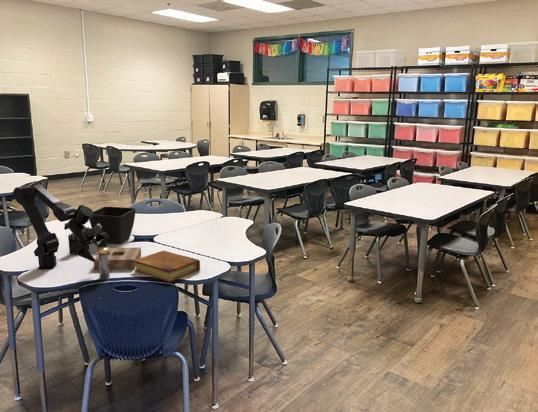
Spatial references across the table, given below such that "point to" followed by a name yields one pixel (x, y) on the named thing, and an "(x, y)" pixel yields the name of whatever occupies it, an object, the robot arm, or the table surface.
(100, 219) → the flower pot
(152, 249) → the table surface
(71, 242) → the electronic device
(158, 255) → the diary
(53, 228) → the table surface
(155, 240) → the table surface
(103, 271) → the pin
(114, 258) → the socket block
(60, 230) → the table surface
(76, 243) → the robot arm
